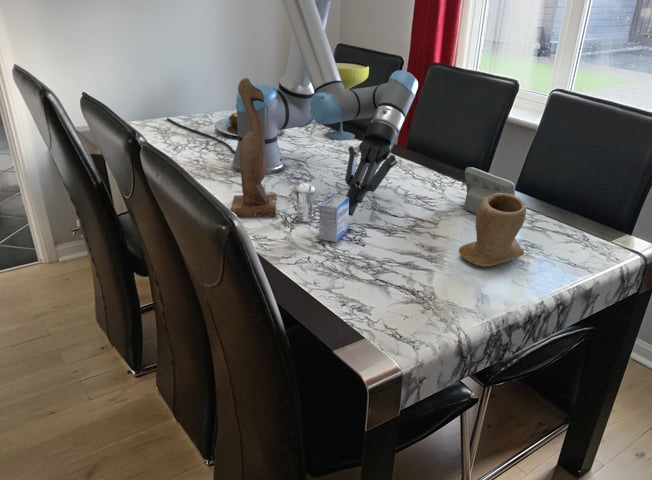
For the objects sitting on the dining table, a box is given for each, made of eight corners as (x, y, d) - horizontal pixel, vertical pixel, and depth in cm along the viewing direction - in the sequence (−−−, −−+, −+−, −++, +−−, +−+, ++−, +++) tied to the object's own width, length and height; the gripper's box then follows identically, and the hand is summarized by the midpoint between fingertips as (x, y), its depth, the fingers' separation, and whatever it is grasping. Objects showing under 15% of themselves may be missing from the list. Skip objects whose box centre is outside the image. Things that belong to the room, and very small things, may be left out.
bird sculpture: (279, 218, 143) (277, 83, 127) (231, 218, 141) (223, 82, 126) (276, 201, 153) (275, 74, 137) (231, 202, 151) (225, 73, 135)
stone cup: (487, 277, 121) (499, 210, 114) (450, 255, 130) (460, 191, 122) (537, 263, 128) (552, 199, 121) (499, 242, 137) (511, 182, 130)
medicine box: (336, 243, 132) (337, 207, 128) (318, 239, 133) (319, 204, 129) (348, 230, 139) (349, 196, 134) (330, 227, 140) (332, 193, 136)
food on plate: (293, 127, 221) (294, 110, 218) (271, 144, 200) (271, 125, 197) (231, 120, 226) (231, 103, 222) (203, 135, 204) (202, 117, 201)
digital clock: (518, 220, 150) (526, 181, 145) (490, 225, 146) (498, 185, 141) (480, 199, 162) (486, 162, 157) (454, 203, 159) (459, 165, 154)
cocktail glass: (335, 127, 225) (338, 59, 213) (374, 136, 216) (379, 65, 204) (306, 135, 212) (307, 63, 200) (345, 145, 203) (349, 70, 191)
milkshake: (301, 225, 140) (301, 186, 135) (292, 217, 144) (292, 179, 139) (318, 223, 142) (319, 184, 137) (309, 215, 146) (310, 177, 141)
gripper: (356, 116, 142) (319, 199, 137) (404, 124, 137) (367, 212, 132) (365, 133, 149) (329, 213, 144) (411, 142, 143) (376, 225, 139)
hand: (348, 212), depth 138 cm, fingers closed
